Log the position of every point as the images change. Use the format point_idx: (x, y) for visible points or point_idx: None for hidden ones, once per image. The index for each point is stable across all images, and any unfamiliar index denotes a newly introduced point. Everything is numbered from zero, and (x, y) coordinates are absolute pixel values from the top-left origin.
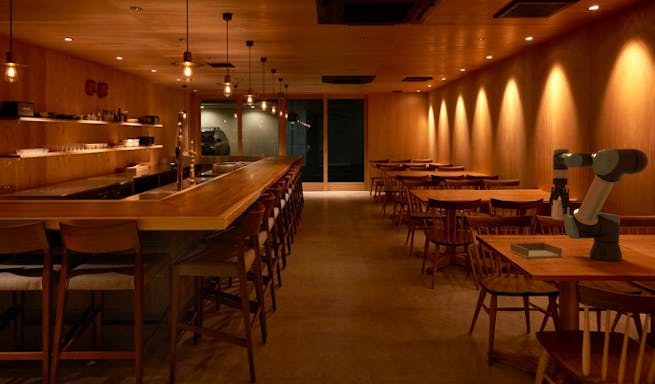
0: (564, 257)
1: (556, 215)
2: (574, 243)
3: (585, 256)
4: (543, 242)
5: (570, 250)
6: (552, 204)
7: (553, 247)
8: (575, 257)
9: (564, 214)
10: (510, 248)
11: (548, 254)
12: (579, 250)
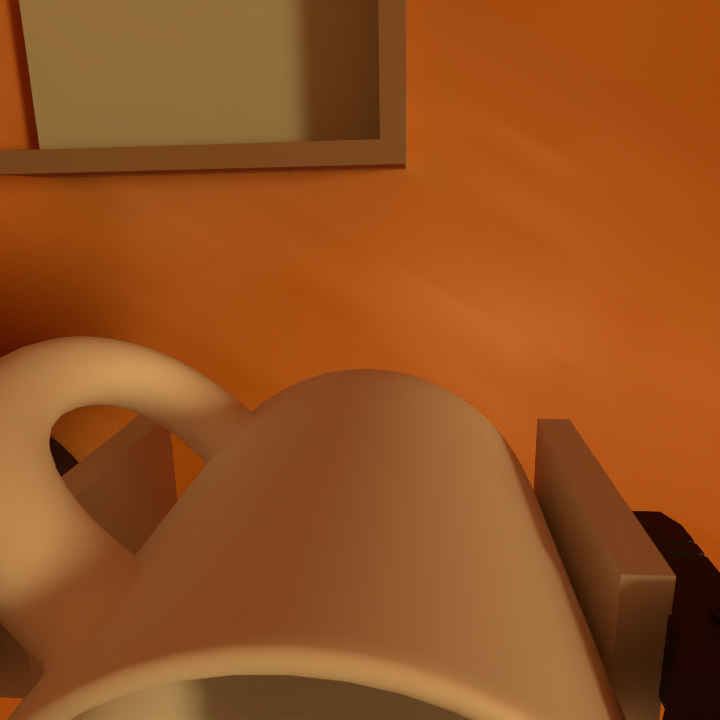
0: (41, 202)
1: (272, 407)
2: None
3: (83, 421)
4: (394, 159)
5: None
6: (683, 633)
7: (130, 147)
8: (40, 307)
9: None
10: None
11: (81, 52)
12: None
